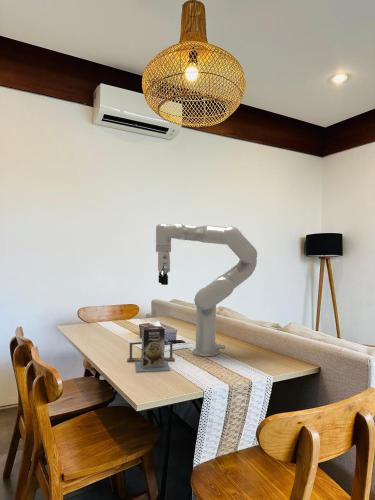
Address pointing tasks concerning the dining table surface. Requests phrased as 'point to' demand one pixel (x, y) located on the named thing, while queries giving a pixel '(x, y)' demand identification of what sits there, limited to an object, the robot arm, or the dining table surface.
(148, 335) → the coffee box
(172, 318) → the dining table surface
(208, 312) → the robot arm
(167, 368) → the mat
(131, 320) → the dining table surface
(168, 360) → the wire stand
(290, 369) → the dining table surface
